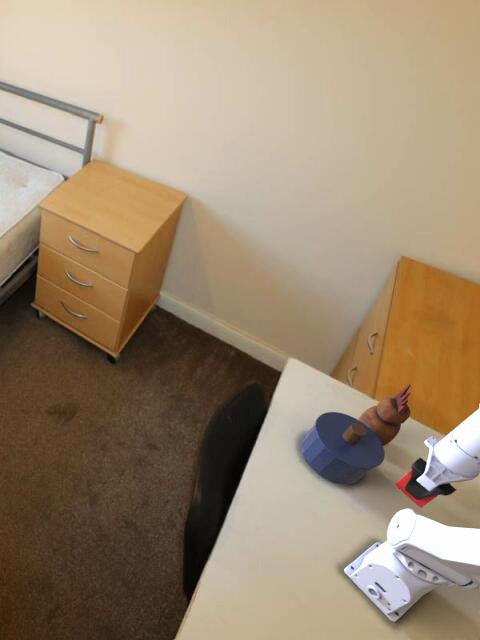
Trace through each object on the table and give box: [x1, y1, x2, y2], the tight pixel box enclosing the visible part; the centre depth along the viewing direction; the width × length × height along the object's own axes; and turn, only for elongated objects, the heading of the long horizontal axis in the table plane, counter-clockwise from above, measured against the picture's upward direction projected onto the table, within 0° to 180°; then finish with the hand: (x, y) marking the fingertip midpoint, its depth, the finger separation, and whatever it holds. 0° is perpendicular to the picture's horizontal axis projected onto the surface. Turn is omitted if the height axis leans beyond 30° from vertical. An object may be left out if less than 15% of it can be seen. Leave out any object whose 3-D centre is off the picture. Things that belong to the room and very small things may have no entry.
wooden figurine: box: [357, 384, 411, 447], centre depth 96 cm, size 7×6×15 cm
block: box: [393, 469, 452, 509], centre depth 86 cm, size 4×4×5 cm
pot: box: [300, 424, 372, 486], centre depth 95 cm, size 10×10×6 cm
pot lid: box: [314, 411, 386, 470], centre depth 92 cm, size 11×11×4 cm
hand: (419, 486), depth 86 cm, fingers closed on block, 4 cm apart
